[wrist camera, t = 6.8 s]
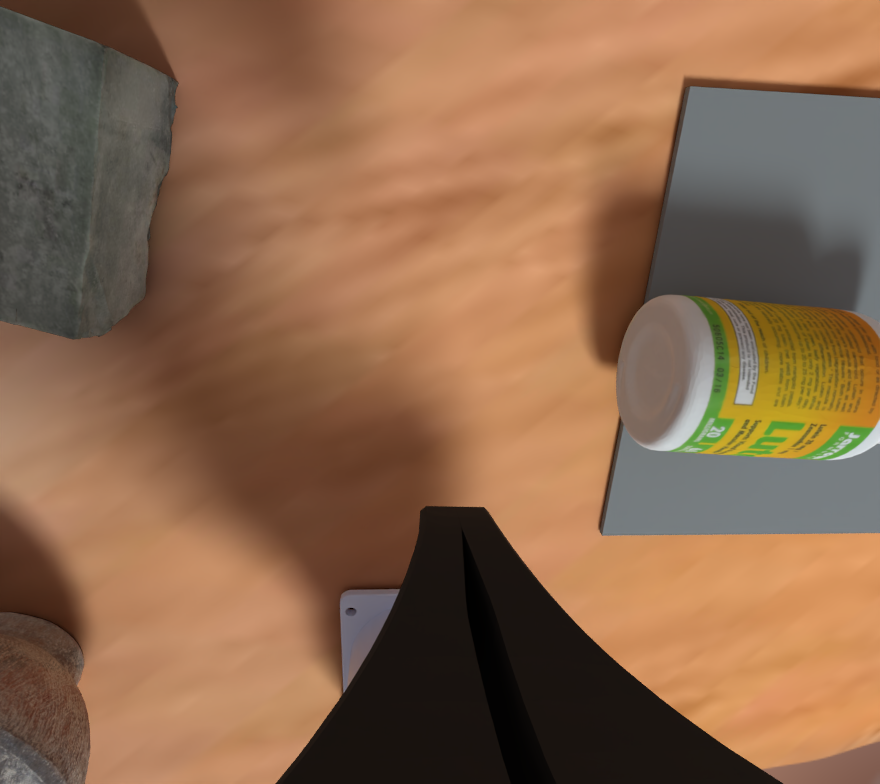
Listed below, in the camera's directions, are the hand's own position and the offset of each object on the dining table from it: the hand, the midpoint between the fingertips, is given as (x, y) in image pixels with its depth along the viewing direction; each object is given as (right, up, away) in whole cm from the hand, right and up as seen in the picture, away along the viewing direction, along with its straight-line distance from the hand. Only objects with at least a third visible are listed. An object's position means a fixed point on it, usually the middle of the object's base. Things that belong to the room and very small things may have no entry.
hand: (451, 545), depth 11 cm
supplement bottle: (+7, +4, +7) cm, 10 cm away
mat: (+15, +5, +10) cm, 18 cm away
